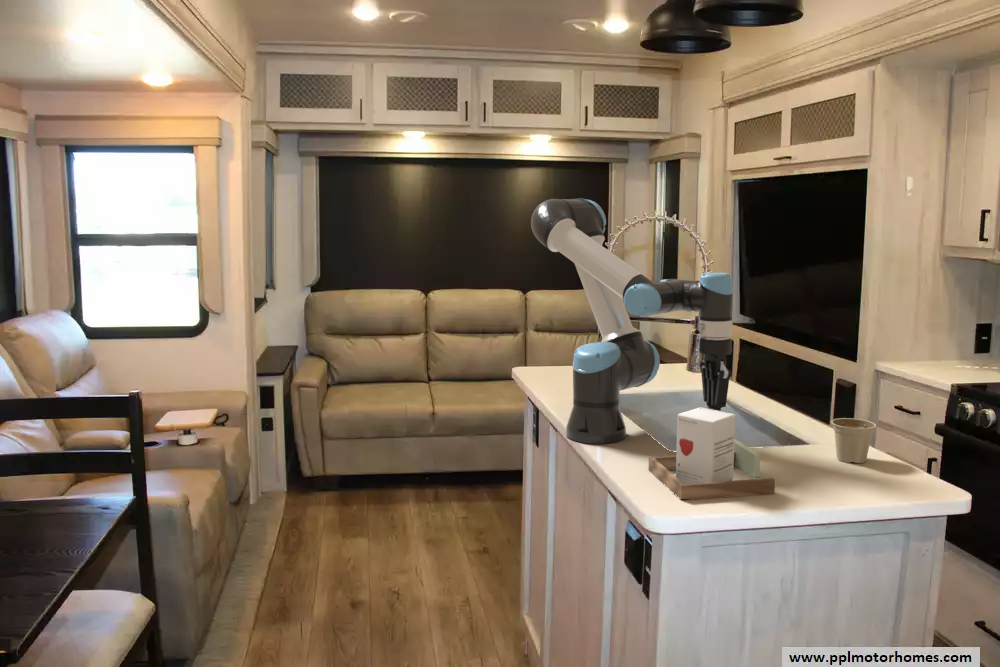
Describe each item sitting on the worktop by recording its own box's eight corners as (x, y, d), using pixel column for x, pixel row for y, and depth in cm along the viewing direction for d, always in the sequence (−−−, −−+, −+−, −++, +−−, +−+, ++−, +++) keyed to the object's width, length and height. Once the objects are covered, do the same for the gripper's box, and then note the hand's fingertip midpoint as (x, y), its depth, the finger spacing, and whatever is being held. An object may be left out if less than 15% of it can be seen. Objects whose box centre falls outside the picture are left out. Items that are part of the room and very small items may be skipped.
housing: (648, 470, 178) (648, 457, 178) (733, 464, 181) (733, 451, 181) (680, 500, 160) (681, 485, 159) (774, 493, 163) (775, 479, 162)
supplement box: (673, 482, 170) (675, 413, 168) (697, 472, 176) (699, 406, 174) (711, 492, 164) (713, 421, 162) (734, 482, 170) (737, 413, 168)
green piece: (717, 452, 191) (718, 431, 190) (730, 451, 191) (730, 431, 190) (753, 477, 173) (754, 455, 172) (767, 476, 173) (768, 454, 172)
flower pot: (836, 451, 191) (838, 415, 189) (878, 458, 185) (881, 422, 183) (823, 460, 184) (825, 424, 182) (867, 468, 178) (869, 431, 176)
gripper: (690, 334, 198) (688, 427, 201) (712, 342, 185) (710, 441, 188) (718, 333, 199) (717, 425, 202) (742, 340, 186) (740, 439, 190)
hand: (714, 433), depth 195 cm, fingers closed
